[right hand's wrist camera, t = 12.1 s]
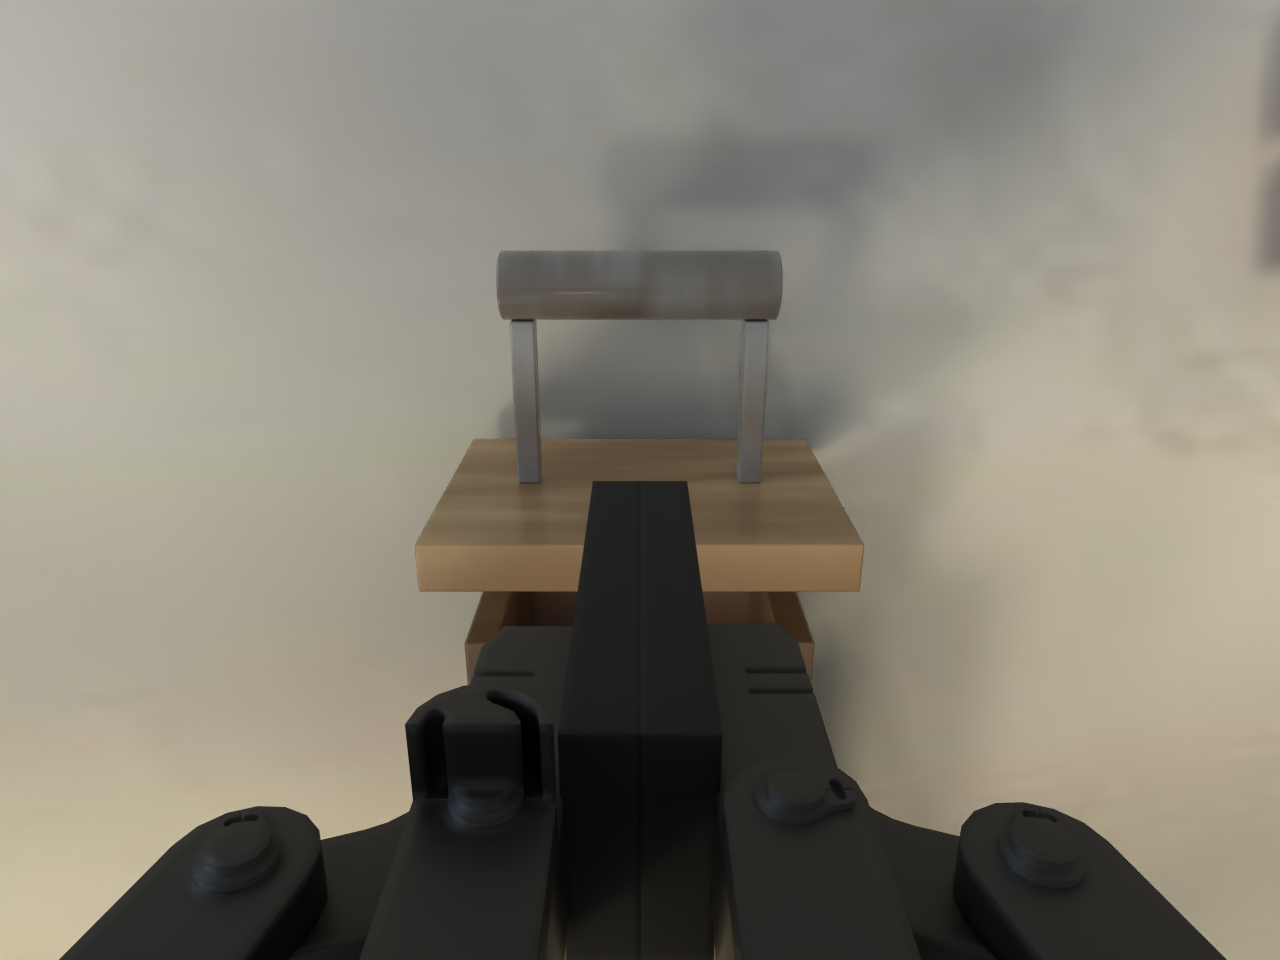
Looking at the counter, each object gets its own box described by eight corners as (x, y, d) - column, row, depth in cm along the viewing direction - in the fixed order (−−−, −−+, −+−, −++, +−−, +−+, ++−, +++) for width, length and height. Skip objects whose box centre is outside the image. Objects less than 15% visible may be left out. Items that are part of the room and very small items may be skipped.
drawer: (459, 236, 25) (387, 274, 18) (819, 236, 25) (890, 274, 18) (508, 952, 35) (473, 1164, 27) (771, 952, 35) (806, 1165, 27)
